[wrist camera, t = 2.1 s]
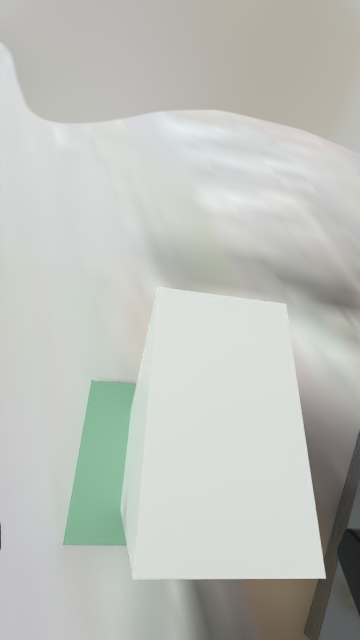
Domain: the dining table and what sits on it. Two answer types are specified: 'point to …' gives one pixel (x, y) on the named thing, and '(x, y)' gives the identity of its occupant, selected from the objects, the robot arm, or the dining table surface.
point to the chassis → (338, 571)
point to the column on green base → (202, 449)
